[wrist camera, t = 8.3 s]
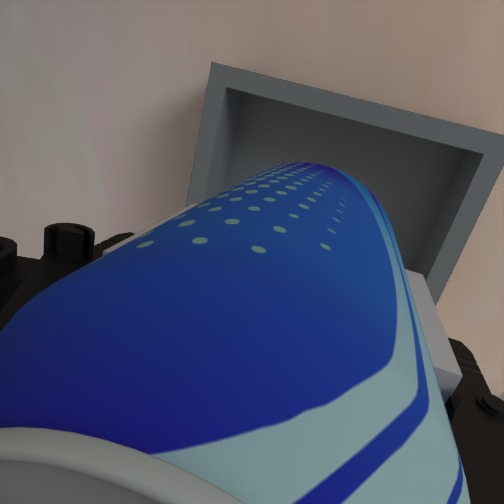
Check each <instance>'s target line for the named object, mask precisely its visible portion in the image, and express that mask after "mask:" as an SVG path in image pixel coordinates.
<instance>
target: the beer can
mask: <svg viewBox="0 0 504 504" xmlns="http://www.w3.org/2000/svg"><path fill="white" fill-rule="evenodd" d="M0 504H470V498H469V493H468V487H467V482H466V477H465V474H464V470H463V467H462V463H461V460H460V456H459V453H458V450H457V446H456V443H455V439H454V436H453V432H452V429H451V426H450V422H449V419H448V415H447V412H446V409H445V405H444V402H443V398H442V395H441V391H440V388H439V385H438V381H437V378H436V374H435V371H434V367H433V364H432V361H431V357H430V354H429V350H428V347H427V343H426V340H425V337H424V333H423V330H422V326H421V323H420V319H419V316H418V313H417V309H416V306H415V302H414V299H413V295H412V292H411V289H410V285H409V282H408V278H407V275H406V272H405V268H404V265H403V261H402V258H401V254H400V251H399V248H398V244H397V241H396V237H395V234H394V231H393V227H392V224H391V222H390V220H389V217H388V215H387V213H386V212H385V210H384V208H383V207H382V205H381V204H380V202H379V201H378V200H377V198H376V197H375V196H374V195H373V194H372V193H371V192H370V191H369V190H368V189H367V188H366V187H365V186H364V185H363V184H361V183H360V182H359V181H357V180H356V179H354V178H353V177H351V176H349V175H348V174H346V173H344V172H342V171H339V170H337V169H334V168H332V167H329V166H325V165H321V164H316V163H308V162H292V163H284V164H278V165H275V166H271V167H268V168H266V169H263V170H261V171H259V172H257V173H255V174H253V175H251V176H249V177H247V178H246V179H244V180H242V181H240V182H238V183H236V184H235V185H233V186H231V187H229V188H227V189H225V190H224V191H222V192H220V193H218V194H216V195H214V196H212V197H211V198H209V199H207V200H205V201H203V202H201V203H200V204H198V205H196V206H194V207H192V208H190V209H189V210H187V211H185V212H183V213H181V214H179V215H178V216H176V217H174V218H172V219H170V220H168V221H167V222H165V223H163V224H161V225H159V226H157V227H156V228H154V229H152V230H150V231H148V232H146V233H144V234H143V235H141V236H139V237H137V238H135V239H133V240H132V241H130V242H128V243H126V244H124V245H122V246H121V247H119V248H117V249H115V250H113V251H111V252H110V253H108V254H106V255H104V256H102V257H100V258H99V259H97V260H95V261H93V262H91V263H89V264H88V265H86V266H84V267H82V268H80V269H78V270H76V271H75V272H73V273H71V274H69V275H67V276H65V277H64V278H62V279H60V280H58V281H56V282H55V283H53V284H52V285H50V286H49V287H47V288H46V289H45V290H43V291H42V292H40V293H39V294H37V295H36V296H35V297H33V298H32V299H31V300H30V301H28V302H27V303H26V304H25V305H24V306H23V307H22V308H21V309H20V310H19V311H18V312H16V314H15V315H14V316H13V317H12V319H11V320H10V321H9V322H8V323H7V325H6V326H5V327H4V328H3V330H2V331H1V332H0Z"/></svg>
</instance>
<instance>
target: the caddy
mask: <svg viewBox="0 0 504 504" xmlns="http://www.w3.org/2000/svg"><path fill="white" fill-rule="evenodd" d="M292 162H308V163H316V164H321V165H325V166H329V167H332V168H334V169H337V170H339V171H342V172H344V173H346V174H348V175H349V176H351V177H353V178H354V179H356V180H357V181H359V182H360V183H361V184H363V185H364V186H365V187H366V188H367V189H368V190H369V191H370V192H371V193H372V194H373V195H374V196H375V197H376V198H377V200H378V201H379V202H380V204H381V205H382V207H383V208H384V210H385V212H386V213H387V215H388V217H389V220H390V222H391V224H392V227H393V231H394V234H395V237H396V241H397V244H398V248H399V251H400V254H401V258H402V261H403V265H404V268H405V269H406V270H409V271H413V272H416V273H419V274H422V275H423V277H424V279H425V282H426V284H427V287H428V289H429V292H430V294H431V297H432V299H433V302H434V305H435V306H436V304H437V302H438V300H439V298H440V296H441V294H442V292H443V290H444V288H445V286H446V283H447V281H448V279H449V277H450V275H451V273H452V271H453V269H454V267H455V265H456V263H457V261H458V259H459V257H460V255H461V252H462V250H463V248H464V246H465V244H466V242H467V240H468V238H469V236H470V234H471V232H472V230H473V228H474V226H475V223H476V221H477V219H478V217H479V215H480V213H481V211H482V209H483V207H484V205H485V203H486V201H487V199H488V197H489V195H490V192H491V190H492V188H493V186H494V184H495V182H496V180H497V178H498V176H499V174H500V172H501V170H502V168H503V166H504V135H501V134H497V133H493V132H489V131H485V130H481V129H477V128H473V127H469V126H465V125H461V124H457V123H453V122H449V121H445V120H441V119H437V118H433V117H429V116H425V115H421V114H417V113H413V112H409V111H405V110H401V109H397V108H393V107H389V106H385V105H381V104H378V103H374V102H370V101H366V100H362V99H358V98H354V97H350V96H346V95H342V94H338V93H334V92H330V91H326V90H322V89H318V88H314V87H310V86H306V85H302V84H298V83H294V82H290V81H286V80H282V79H278V78H274V77H270V76H266V75H262V74H258V73H254V72H250V71H246V70H242V69H238V68H234V67H230V66H226V65H222V64H218V63H214V62H211V68H210V74H209V79H208V85H207V91H206V96H205V102H204V108H203V113H202V119H201V125H200V130H199V136H198V141H197V147H196V153H195V158H194V164H193V170H192V175H191V181H190V187H189V192H188V198H187V204H186V207H188V206H190V205H192V204H194V203H196V204H200V203H201V202H203V201H205V200H207V199H209V198H211V197H212V196H214V195H216V194H218V193H220V192H222V191H224V190H225V189H227V188H229V187H231V186H233V185H235V184H236V183H238V182H240V181H242V180H244V179H246V178H247V177H249V176H251V175H253V174H255V173H257V172H259V171H261V170H263V169H266V168H268V167H271V166H275V165H278V164H284V163H292Z"/></svg>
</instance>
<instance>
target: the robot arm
mask: <svg viewBox="0 0 504 504" xmlns="http://www.w3.org/2000/svg"><path fill="white" fill-rule="evenodd" d="M196 205H198V204H196V203H194V204H192V205H190V206H188V207H186V208H184V209H182V210H180V211H179V212H177V213H175V214H173V215H171V216H169V217H167V218H165V219H163V220H161V221H160V222H158V223H156V224H154V225H152V226H150V227H148V228H146V229H144V230H142V231H140V232H139V233H137V234H134V233H131V232H129V233H123V234H117V235H115V236H113V237H111V238H109V239H108V240H105V241H103V242H101V244H100V243H99V244H97V245H95V246H94V239H95V232H94V231H93V230H92V229H91V228H89V227H86V226H84V225H80V224H74V223H56V224H52V225H49V226H47V227H45V228H44V255H43V256H42V257H41V259H40V260H39V259H33V258H27V257H21V256H17V243H16V242H14V241H13V240H11V239H8V238H6V237H0V332H1V331H2V330H3V328H4V327H5V326H6V325H7V323H8V322H9V321H10V320H11V319H12V317H13V316H14V315H15V314H16V312H18V311H19V310H20V309H21V308H22V307H23V306H24V305H25V304H26V303H27V302H28V301H30V300H31V299H32V298H33V297H35V296H36V295H37V294H39V293H40V292H42V291H43V290H45V289H46V288H47V287H49V286H50V285H52V284H53V283H55V282H56V281H58V280H60V279H62V278H64V277H65V276H67V275H69V274H71V273H73V272H75V271H76V270H78V269H80V268H82V267H84V266H86V265H88V264H89V263H91V262H93V261H95V260H97V259H99V258H100V257H102V256H104V255H106V254H108V253H110V252H111V251H113V250H115V249H117V248H119V247H121V246H122V245H124V244H126V243H128V242H130V241H132V240H133V239H135V238H137V237H139V236H141V235H143V234H144V233H146V232H148V231H150V230H152V229H154V228H156V227H157V226H159V225H161V224H163V223H165V222H167V221H168V220H170V219H172V218H174V217H176V216H178V215H179V214H181V213H183V212H185V211H187V210H189V209H190V208H192V207H194V206H196ZM405 272H406V275H407V278H408V282H409V285H410V289H411V292H412V295H413V299H414V302H415V306H416V309H417V313H418V316H419V319H420V323H421V326H422V330H423V333H424V337H425V340H426V343H427V347H428V350H429V354H430V357H431V361H432V364H433V367H434V371H435V374H436V378H437V381H438V385H439V388H440V391H441V395H442V398H443V402H444V405H445V409H446V412H447V415H448V419H449V422H450V426H451V429H452V432H453V436H454V439H455V443H456V446H457V450H458V453H459V456H460V460H461V463H462V467H463V470H464V474H465V477H466V482H467V487H468V493H469V498H470V504H504V401H503V400H501V399H500V398H498V397H496V396H494V395H492V394H491V392H490V390H489V388H488V386H487V384H486V381H485V379H484V377H483V375H482V374H481V371H480V369H479V367H478V365H477V362H476V360H475V358H474V356H473V354H472V352H471V351H470V350H469V349H468V348H467V347H466V346H465V345H464V344H463V343H462V342H460V341H457V340H454V339H451V338H448V337H447V335H446V332H445V330H444V327H443V325H442V322H441V320H440V317H439V315H438V312H437V310H436V307H435V305H434V302H433V299H432V297H431V294H430V292H429V289H428V287H427V284H426V282H425V279H424V277H423V275H422V274H419V273H416V272H413V271H409V270H406V269H405Z"/></svg>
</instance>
